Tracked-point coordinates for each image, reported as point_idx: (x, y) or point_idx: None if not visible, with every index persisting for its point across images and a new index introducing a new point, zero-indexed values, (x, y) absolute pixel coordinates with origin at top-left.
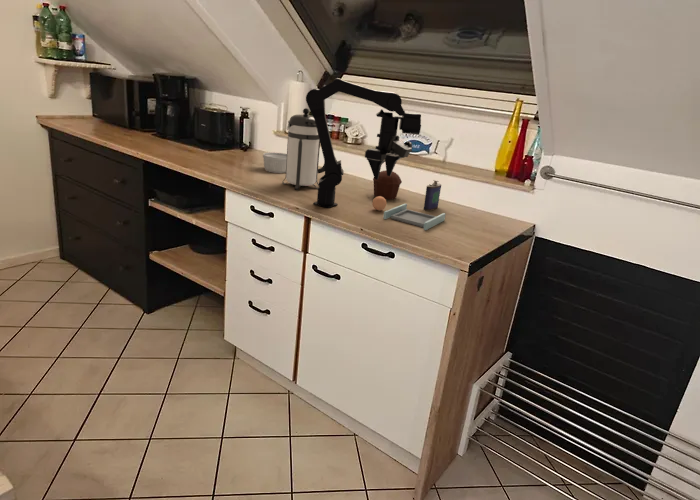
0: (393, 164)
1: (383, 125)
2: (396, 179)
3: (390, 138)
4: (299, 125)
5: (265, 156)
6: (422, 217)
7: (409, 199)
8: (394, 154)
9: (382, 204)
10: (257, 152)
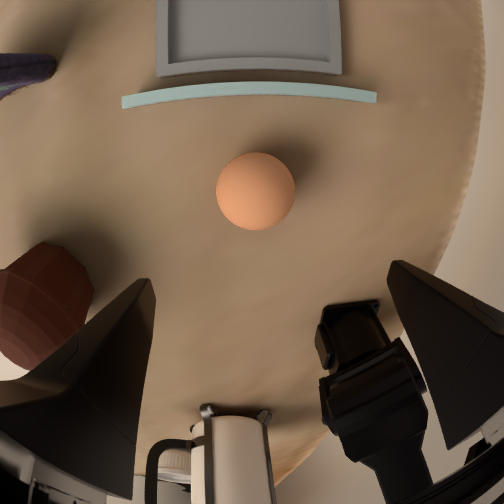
0: (92, 363)
1: None
2: (6, 293)
3: None
4: None
5: None
6: None
7: (3, 208)
8: (53, 495)
9: (279, 161)
10: (136, 472)
